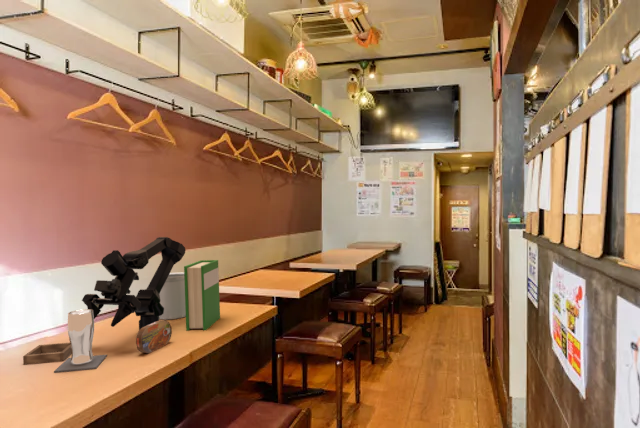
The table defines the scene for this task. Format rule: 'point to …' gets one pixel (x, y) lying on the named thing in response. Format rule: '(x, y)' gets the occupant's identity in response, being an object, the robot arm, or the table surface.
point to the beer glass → (81, 336)
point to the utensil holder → (173, 297)
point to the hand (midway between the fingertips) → (99, 325)
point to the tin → (153, 336)
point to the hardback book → (202, 294)
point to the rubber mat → (68, 367)
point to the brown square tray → (48, 353)
